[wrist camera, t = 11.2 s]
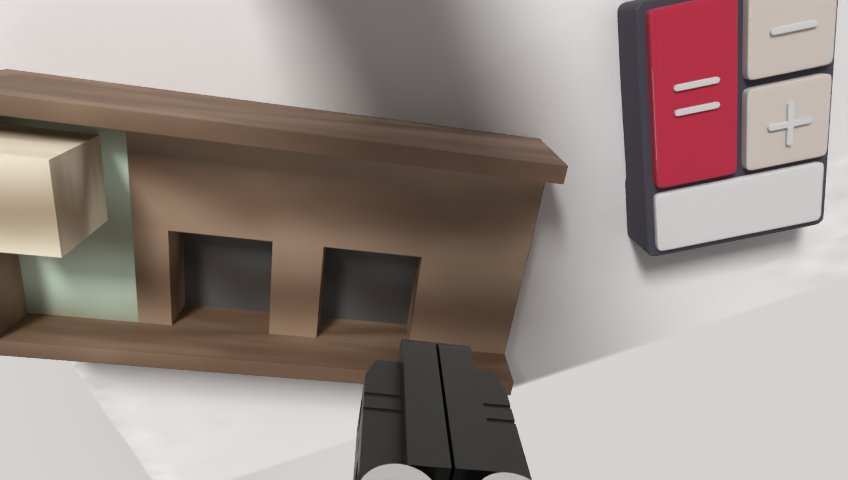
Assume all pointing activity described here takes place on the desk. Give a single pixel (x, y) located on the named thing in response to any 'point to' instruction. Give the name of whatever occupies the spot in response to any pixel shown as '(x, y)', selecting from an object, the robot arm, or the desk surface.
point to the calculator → (724, 117)
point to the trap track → (273, 236)
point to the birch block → (49, 190)
